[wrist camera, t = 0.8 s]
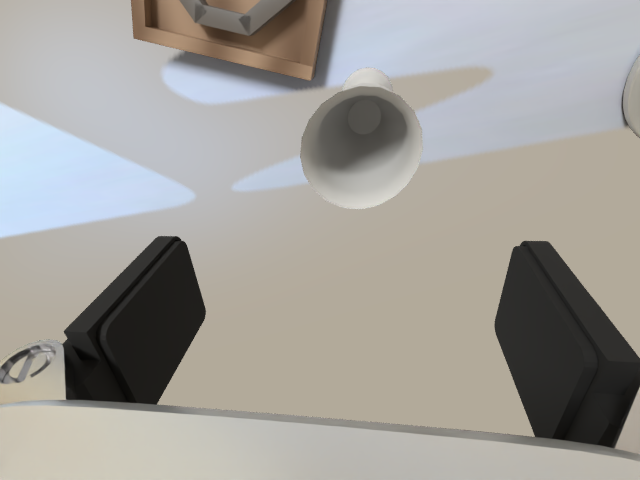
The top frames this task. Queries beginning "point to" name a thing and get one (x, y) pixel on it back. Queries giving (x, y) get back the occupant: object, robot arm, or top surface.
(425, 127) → the top surface
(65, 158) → the top surface
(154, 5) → the holder tray
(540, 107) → the top surface
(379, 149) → the chalice
